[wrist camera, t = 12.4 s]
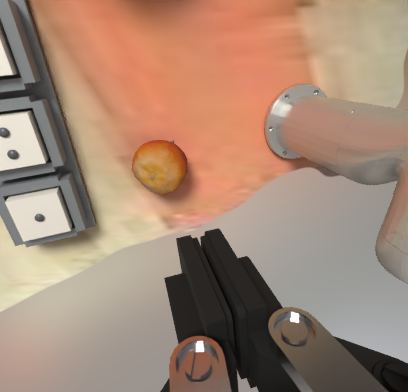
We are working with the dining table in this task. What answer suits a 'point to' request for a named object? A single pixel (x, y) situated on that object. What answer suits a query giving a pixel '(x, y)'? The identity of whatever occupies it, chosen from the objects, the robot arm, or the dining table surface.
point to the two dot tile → (21, 140)
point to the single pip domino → (40, 213)
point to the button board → (48, 123)
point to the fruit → (160, 166)
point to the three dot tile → (6, 55)
